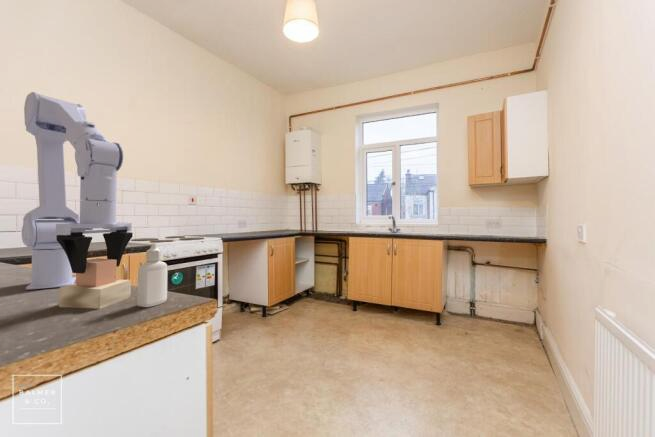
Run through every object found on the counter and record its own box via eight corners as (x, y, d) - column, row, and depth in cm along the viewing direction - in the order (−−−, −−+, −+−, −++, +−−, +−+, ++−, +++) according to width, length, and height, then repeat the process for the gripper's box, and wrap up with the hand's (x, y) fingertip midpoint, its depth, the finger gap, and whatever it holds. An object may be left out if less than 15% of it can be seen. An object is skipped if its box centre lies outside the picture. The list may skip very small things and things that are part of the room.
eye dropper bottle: (171, 303, 60) (173, 243, 60) (139, 309, 56) (141, 244, 56) (163, 298, 63) (165, 241, 63) (133, 304, 59) (134, 243, 59)
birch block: (59, 308, 56) (59, 287, 56) (94, 297, 64) (94, 278, 64) (100, 310, 56) (100, 289, 56) (130, 298, 64) (130, 280, 64)
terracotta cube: (75, 284, 58) (76, 261, 58) (97, 280, 63) (97, 258, 63) (96, 286, 58) (96, 263, 58) (116, 281, 62) (116, 259, 62)
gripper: (80, 199, 52) (79, 277, 52) (144, 203, 67) (143, 264, 67) (46, 198, 53) (45, 275, 53) (116, 202, 68) (115, 263, 68)
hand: (97, 269), depth 60 cm, fingers open, 7 cm apart
